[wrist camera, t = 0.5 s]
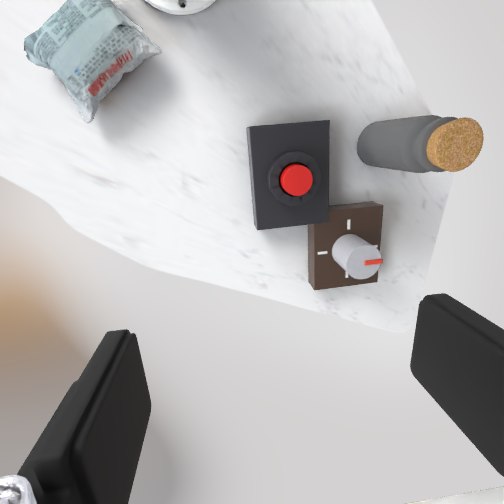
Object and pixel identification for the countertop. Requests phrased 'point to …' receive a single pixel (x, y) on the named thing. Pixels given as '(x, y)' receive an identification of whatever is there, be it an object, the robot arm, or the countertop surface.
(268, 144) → the push button base
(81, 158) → the countertop surface
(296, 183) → the power button
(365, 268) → the dial
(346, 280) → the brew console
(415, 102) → the countertop surface
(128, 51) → the packaged food
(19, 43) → the countertop surface
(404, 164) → the bottle
